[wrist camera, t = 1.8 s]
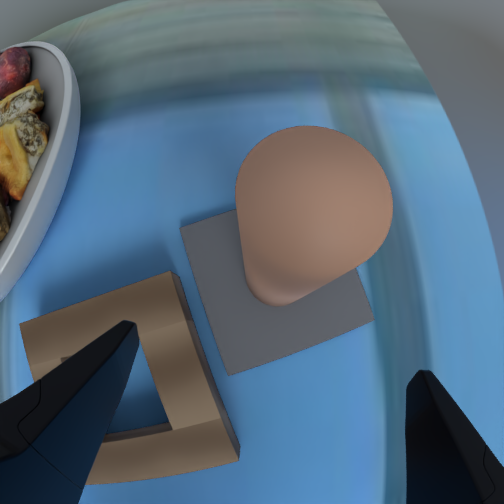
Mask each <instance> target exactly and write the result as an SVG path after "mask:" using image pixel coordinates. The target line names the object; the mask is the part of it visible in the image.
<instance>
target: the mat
mask: <svg viewBox="0 0 504 504" xmlns="http://www.w3.org/2000/svg"><path fill="white" fill-rule="evenodd" d="M179 229H180V232H181V236H182V239H183V242H184V246H185V249H186V252H187V255H188V259H189V262H190V265H191V268H192V272H193V275H194V278H195V281H196V284H197V287H198V290H199V293H200V296H201V300H202V303H203V306H204V309H205V312H206V315H207V318H208V321H209V323H210V326H211V329H212V332H213V335H214V338H215V341H216V344H217V346H218V349H219V352H220V355H221V358H222V361H223V363H224V366H225V369H226V371H227V374H228V376H230V375H233V374H236V373H239V372H242V371H245V370H248V369H251V368H254V367H257V366H260V365H263V364H266V363H269V362H271V361H274V360H277V359H280V358H283V357H285V356H288V355H291V354H293V353H296V352H299V351H301V350H304V349H306V348H309V347H312V346H314V345H317V344H319V343H322V342H324V341H327V340H329V339H332V338H334V337H336V336H339V335H341V334H344V333H346V332H348V331H351V330H353V329H355V328H358V327H360V326H362V325H364V324H367V323H369V322H371V321H373V320H375V319H374V316H373V314H372V311H371V308H370V305H369V302H368V300H367V297H366V294H365V291H364V289H363V286H362V283H361V281H360V278H359V275H358V273H357V270H356V268H354V269H352V270H350V271H349V272H347V273H345V274H343V275H342V276H340V277H338V278H336V279H335V280H333V281H331V282H329V283H327V284H326V285H324V286H322V287H320V288H319V289H317V290H315V291H313V292H311V293H309V294H308V295H306V296H304V297H302V298H300V299H298V300H297V301H295V302H293V303H291V304H289V305H285V306H270V305H266V304H264V303H262V302H260V301H259V300H258V299H256V298H255V297H254V296H253V294H252V293H251V292H250V290H249V288H248V286H247V282H246V277H245V269H244V262H243V254H242V246H241V239H240V231H239V224H238V216H237V209H234V210H231V211H228V212H225V213H222V214H219V215H216V216H213V217H210V218H207V219H204V220H201V221H198V222H195V223H193V224H190V225H187V226H184V227H181V228H179Z"/></svg>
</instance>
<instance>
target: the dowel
mask: <svg viewBox="0 0 504 504" xmlns="http://www.w3.org/2000/svg"><path fill="white" fill-rule="evenodd" d="M235 200H236V208H237V216H238V224H239V231H240V239H241V246H242V254H243V262H244V269H245V277H246V282H247V286H248V288H249V290H250V292H251V293H252V294H253V296H254V297H255V298H256V299H258V300H259V301H260V302H262V303H264V304H266V305H270V306H285V305H289V304H291V303H293V302H295V301H297V300H298V299H300V298H302V297H304V296H306V295H308V294H309V293H311V292H313V291H315V290H317V289H319V288H320V287H322V286H324V285H326V284H327V283H329V282H331V281H333V280H335V279H336V278H338V277H340V276H342V275H343V274H345V273H347V272H349V271H350V270H352V269H354V268H356V267H357V266H359V265H360V264H362V263H363V262H365V261H366V260H368V259H369V258H370V257H371V256H372V255H373V254H374V253H375V252H376V251H377V250H378V249H379V247H380V246H381V245H382V243H383V241H384V240H385V238H386V236H387V233H388V231H389V229H390V225H391V221H392V213H393V200H392V193H391V189H390V185H389V182H388V180H387V177H386V175H385V173H384V171H383V169H382V168H381V166H380V164H379V163H378V162H377V160H376V159H375V158H374V156H373V155H372V154H371V153H370V152H369V151H368V150H367V149H366V148H365V147H363V146H362V145H361V144H360V143H358V142H357V141H355V140H354V139H352V138H351V137H349V136H347V135H345V134H343V133H340V132H338V131H335V130H332V129H328V128H324V127H318V126H296V127H291V128H286V129H283V130H280V131H277V132H275V133H273V134H271V135H269V136H268V137H266V138H264V139H263V140H262V141H260V142H259V143H258V144H257V145H256V146H255V147H254V148H253V149H252V150H251V151H250V152H249V153H248V155H247V156H246V158H245V159H244V161H243V163H242V165H241V167H240V170H239V173H238V176H237V180H236V187H235Z"/></svg>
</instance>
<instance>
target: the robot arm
mask: <svg viewBox="0 0 504 504" xmlns="http://www.w3.org/2000/svg"><path fill="white" fill-rule="evenodd" d="M138 347H139V335H138V329H137V324H136V323H135V322H132V321H128V320H122V321H121V322H119V323H118V324H116V325H115V326H113V327H112V328H111V329H109V330H108V331H106V332H105V333H103V334H102V335H101V336H99V337H98V338H96V339H95V340H93V341H92V342H91V343H89V344H88V345H86V346H85V347H83V348H82V349H81V350H79V351H78V352H76V353H75V354H74V355H72V356H71V357H69V358H68V359H67V360H65V361H64V362H62V363H61V364H59V365H58V366H57V367H55V368H54V369H52V370H51V371H50V372H48V373H47V374H45V375H44V376H43V377H41V379H38V380H37V381H36V382H34V383H33V384H31V385H30V386H28V387H27V388H26V389H24V390H23V391H21V392H20V393H18V394H16V395H15V396H13V397H11V398H10V399H8V400H6V401H4V402H3V403H1V404H0V504H78V503H79V500H80V497H81V495H82V492H83V489H84V486H85V484H86V481H87V479H88V476H89V473H90V471H91V468H92V466H93V463H94V461H95V458H96V456H97V453H98V451H99V448H100V446H101V444H102V441H103V439H104V436H105V434H106V432H107V429H108V427H109V424H110V422H111V420H112V417H113V415H114V413H115V410H116V408H117V406H118V404H119V401H120V399H121V397H122V395H123V392H124V390H125V387H126V384H127V381H128V378H129V375H130V372H131V369H132V365H133V362H134V359H135V356H136V353H137V350H138ZM405 439H406V470H407V494H406V504H504V467H503V466H502V464H501V463H500V462H499V461H498V459H497V458H496V457H495V455H494V454H493V453H492V451H491V450H490V448H489V447H488V446H487V445H486V443H485V441H484V440H483V439H482V437H481V436H480V434H479V433H478V432H477V430H476V429H475V428H474V426H473V425H472V424H471V422H470V421H469V419H468V418H467V417H466V415H465V414H464V413H463V411H462V410H461V409H460V407H459V406H458V405H457V403H456V402H455V401H454V400H453V398H452V397H451V396H450V394H449V393H448V392H447V390H446V389H445V388H444V387H443V385H442V384H441V383H440V381H439V380H438V379H437V378H436V376H435V375H434V374H433V373H432V372H431V371H430V370H419V371H418V372H417V373H416V374H415V375H414V377H413V378H412V379H411V381H410V382H409V383H408V385H407V389H406V419H405Z"/></svg>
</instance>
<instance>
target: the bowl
mask: <svg viewBox="0 0 504 504" xmlns="http://www.w3.org/2000/svg"><path fill="white" fill-rule="evenodd" d="M80 116H81V104H80V93H79V87H78V83H77V79H76V76H75V73H74V70H73V68H72V66H71V64H70V63H69V61H68V59H67V58H66V56H65V55H64V53H63V52H62V51H61V50H60V49H59V48H57V47H56V46H54V45H52V44H49V43H46V42H40V41H32V42H24V43H20V44H16V45H13V46H10V47H7V48H5V49H3V50H1V51H0V302H1V301H2V300H3V299H4V298H5V296H6V295H7V294H8V293H9V292H10V290H11V289H12V288H13V287H14V285H15V284H16V283H17V281H18V280H19V278H20V277H21V276H22V274H23V273H24V271H25V270H26V268H27V267H28V265H29V263H30V262H31V260H32V258H33V257H34V255H35V253H36V251H37V250H38V248H39V246H40V244H41V242H42V240H43V238H44V237H45V235H46V232H47V230H48V228H49V226H50V224H51V222H52V220H53V217H54V215H55V213H56V211H57V208H58V206H59V203H60V201H61V198H62V195H63V193H64V190H65V187H66V184H67V181H68V178H69V175H70V171H71V168H72V164H73V160H74V156H75V152H76V147H77V142H78V136H79V128H80Z"/></svg>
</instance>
